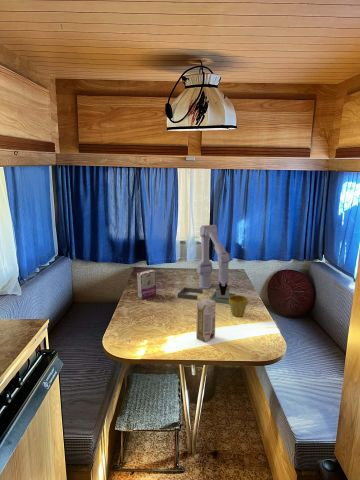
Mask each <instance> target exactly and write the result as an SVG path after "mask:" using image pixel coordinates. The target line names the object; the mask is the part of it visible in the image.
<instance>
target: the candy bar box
mask: <svg viewBox="0 0 360 480" xmlns="http://www.w3.org/2000/svg"><path fill="white" fill-rule="evenodd" d="M156 276H157V275H156V270H153V269H149V270H143V271H140V272H136V279H137V281H136V282H137V298H139V299H141V300H145V299H149V298H152V297H154V296H155V297H156V296H157V285H156V284H157V280H156V279H157V277H156Z"/></svg>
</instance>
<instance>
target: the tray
mask: <svg viewBox="0 0 360 480" xmlns="http://www.w3.org/2000/svg"><path fill="white" fill-rule="evenodd" d="M233 295H237V294H236V293H233V292H229V297H230V296H233ZM209 299H211V300H214V301H215V303H218V304H227V305H230V304H229V298H216V290H215V291H214V292H213V294H211V296H210V297H209Z"/></svg>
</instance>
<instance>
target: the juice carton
mask: <svg viewBox="0 0 360 480" xmlns="http://www.w3.org/2000/svg"><path fill="white" fill-rule="evenodd" d="M216 303H217V302H215V301H214V300H211V299H210V298H207V297H204V298H203V299H202V300H197V301H196V323H195V324H196V328H195V329H196V332H195V333H196V339H197V340H199V341H203V342H204V343H208V342H209V341H212V340H213V339H214V338H215V337H216Z"/></svg>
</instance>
